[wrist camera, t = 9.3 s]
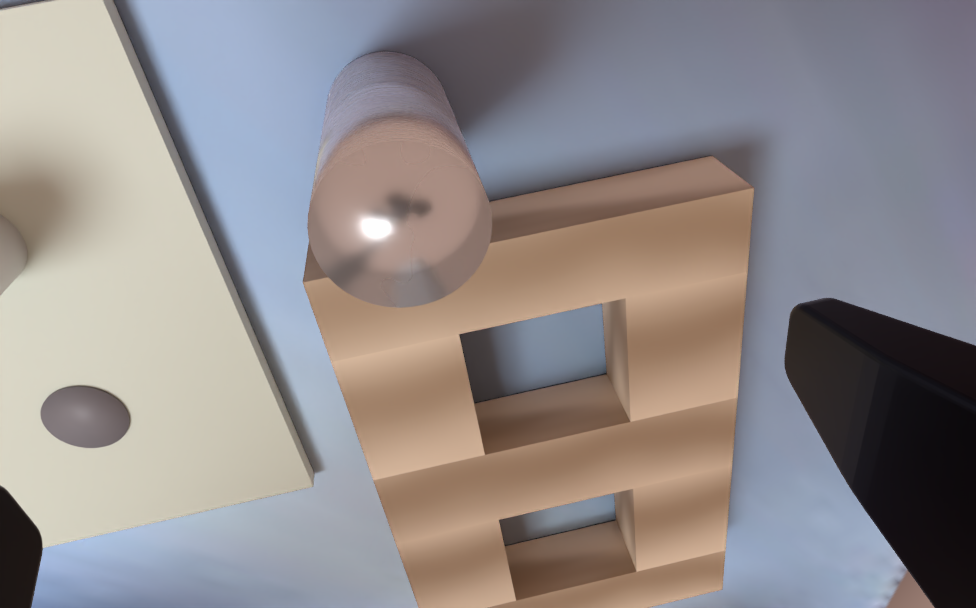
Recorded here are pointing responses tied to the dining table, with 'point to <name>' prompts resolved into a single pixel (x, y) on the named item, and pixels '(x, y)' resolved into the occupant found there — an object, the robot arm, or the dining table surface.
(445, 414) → the hole board
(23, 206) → the plate
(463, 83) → the dining table surface
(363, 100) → the pin
